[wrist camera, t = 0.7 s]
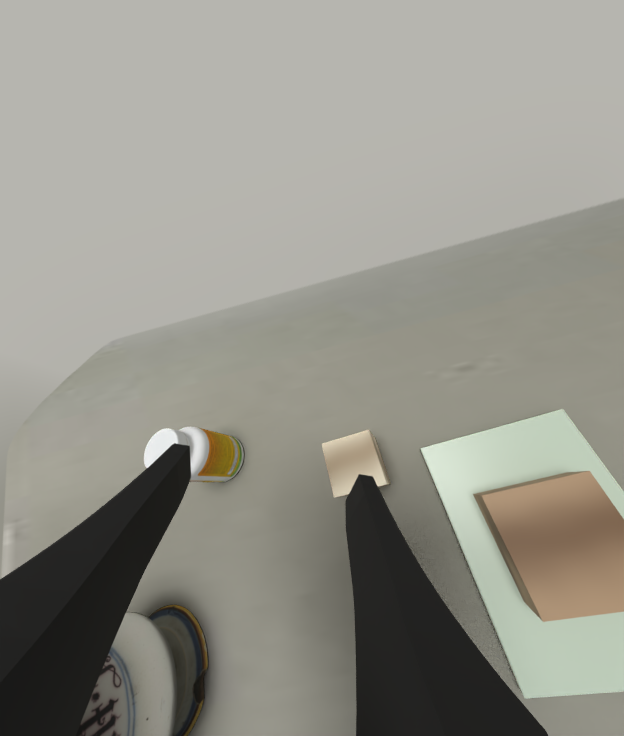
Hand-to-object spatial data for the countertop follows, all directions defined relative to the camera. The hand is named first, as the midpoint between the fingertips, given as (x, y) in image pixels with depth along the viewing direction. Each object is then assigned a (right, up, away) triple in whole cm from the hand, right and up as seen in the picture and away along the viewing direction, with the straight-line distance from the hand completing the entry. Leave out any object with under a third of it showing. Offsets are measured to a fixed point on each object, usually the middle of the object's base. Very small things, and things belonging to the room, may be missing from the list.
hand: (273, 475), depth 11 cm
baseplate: (+19, -8, +9) cm, 23 cm away
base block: (+19, -8, +8) cm, 22 cm away
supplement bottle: (-9, -7, +21) cm, 24 cm away
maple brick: (+7, -6, +15) cm, 17 cm away
